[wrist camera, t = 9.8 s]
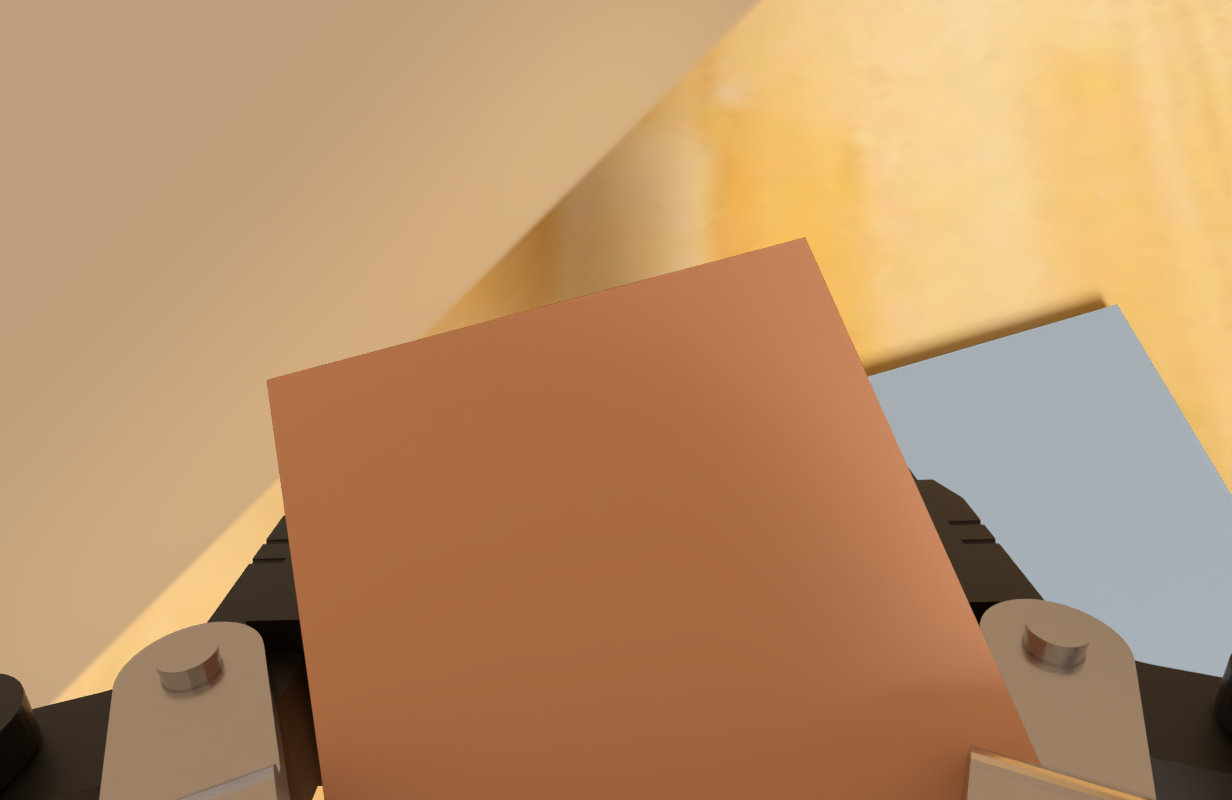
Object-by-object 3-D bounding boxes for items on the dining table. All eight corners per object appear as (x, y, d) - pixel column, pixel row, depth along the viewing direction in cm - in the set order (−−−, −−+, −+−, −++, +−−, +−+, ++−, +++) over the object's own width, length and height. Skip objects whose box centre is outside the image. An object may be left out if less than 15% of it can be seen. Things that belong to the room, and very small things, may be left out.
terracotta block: (713, 493, 16) (804, 236, 7) (806, 759, 14) (1066, 820, 6) (466, 565, 15) (265, 379, 7) (529, 849, 14) (360, 1062, 5)
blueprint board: (1107, 312, 29) (1117, 304, 28) (1345, 713, 24) (1362, 713, 23) (398, 518, 27) (393, 514, 26) (495, 1007, 22) (491, 1014, 21)
